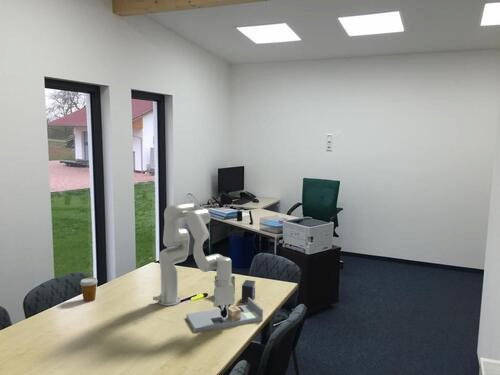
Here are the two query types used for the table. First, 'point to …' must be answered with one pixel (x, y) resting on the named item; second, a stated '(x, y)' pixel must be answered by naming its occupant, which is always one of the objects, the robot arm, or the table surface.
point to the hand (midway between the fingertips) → (223, 316)
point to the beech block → (234, 313)
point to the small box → (248, 291)
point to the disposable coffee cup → (89, 289)
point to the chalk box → (231, 281)
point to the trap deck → (215, 320)
